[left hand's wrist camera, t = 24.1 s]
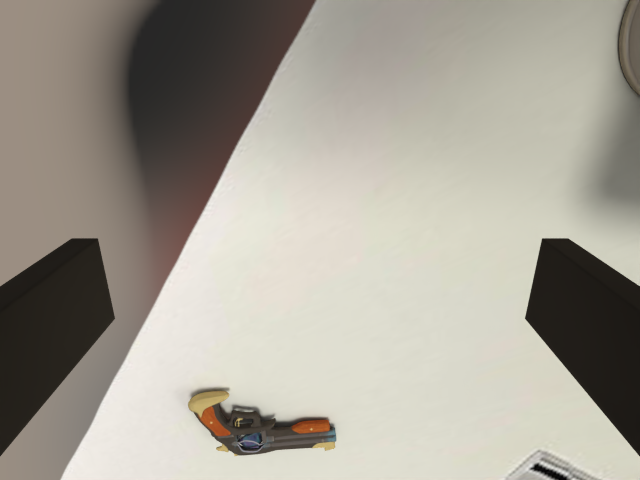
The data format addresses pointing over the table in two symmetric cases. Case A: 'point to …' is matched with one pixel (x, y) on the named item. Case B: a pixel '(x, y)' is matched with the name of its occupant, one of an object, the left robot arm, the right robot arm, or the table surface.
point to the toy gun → (257, 429)
